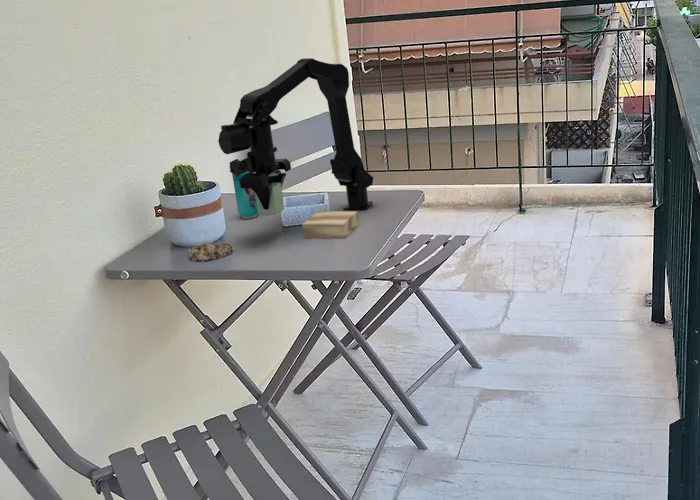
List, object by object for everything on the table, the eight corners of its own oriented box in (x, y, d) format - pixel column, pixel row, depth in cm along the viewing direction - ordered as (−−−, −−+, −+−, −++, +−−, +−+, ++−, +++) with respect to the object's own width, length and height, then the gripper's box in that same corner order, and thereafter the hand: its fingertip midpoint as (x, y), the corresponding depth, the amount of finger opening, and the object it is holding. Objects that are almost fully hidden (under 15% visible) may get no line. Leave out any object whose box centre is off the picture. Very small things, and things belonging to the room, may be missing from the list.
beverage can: (249, 220, 209) (241, 168, 204) (235, 218, 213) (226, 166, 208) (263, 214, 214) (255, 162, 209) (249, 212, 217) (241, 161, 212)
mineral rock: (186, 256, 178) (187, 238, 185) (189, 271, 181) (189, 253, 187) (232, 251, 180) (231, 233, 186) (234, 266, 182) (233, 248, 189)
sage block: (266, 209, 194) (262, 183, 192) (284, 209, 192) (280, 182, 190) (258, 215, 189) (254, 188, 187) (276, 215, 188) (272, 187, 186)
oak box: (319, 225, 199) (318, 211, 198) (359, 225, 195) (357, 211, 194) (303, 239, 189) (301, 224, 188) (344, 240, 185) (343, 224, 184)
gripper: (248, 138, 196) (257, 196, 201) (214, 155, 180) (225, 217, 185) (287, 136, 193) (295, 195, 198) (257, 153, 176) (266, 217, 181)
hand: (270, 206), depth 190 cm, fingers closed on sage block, 5 cm apart
